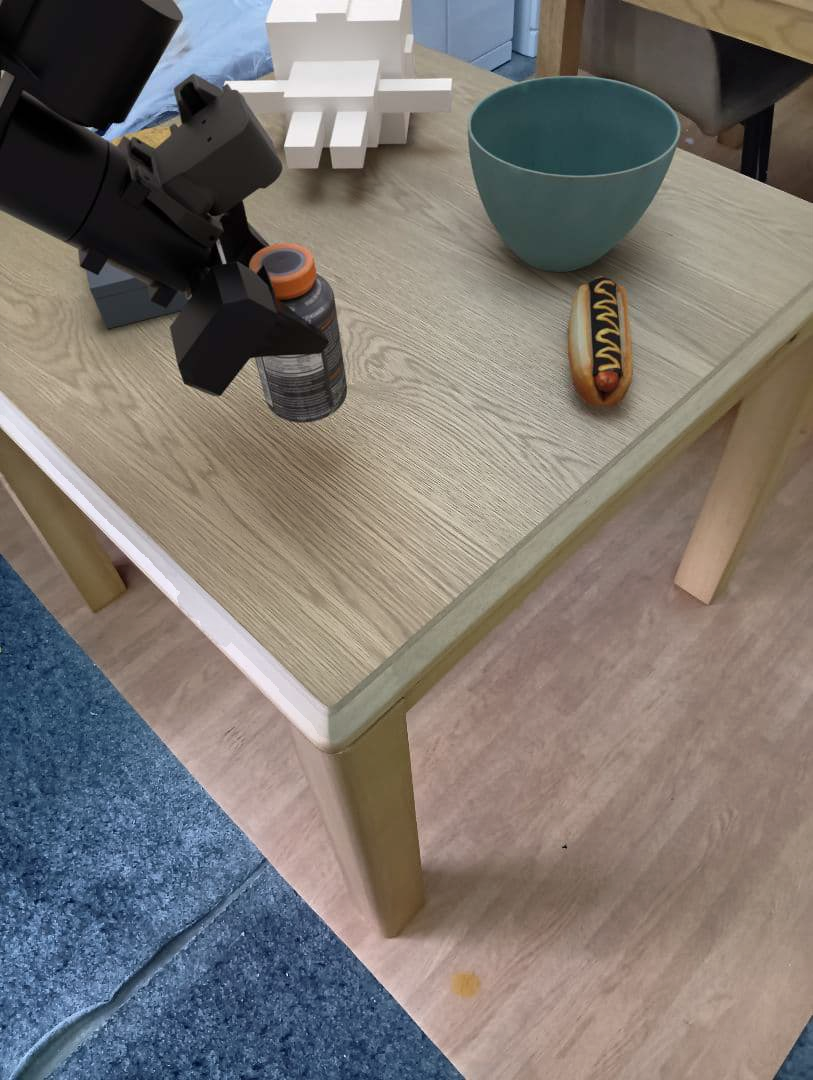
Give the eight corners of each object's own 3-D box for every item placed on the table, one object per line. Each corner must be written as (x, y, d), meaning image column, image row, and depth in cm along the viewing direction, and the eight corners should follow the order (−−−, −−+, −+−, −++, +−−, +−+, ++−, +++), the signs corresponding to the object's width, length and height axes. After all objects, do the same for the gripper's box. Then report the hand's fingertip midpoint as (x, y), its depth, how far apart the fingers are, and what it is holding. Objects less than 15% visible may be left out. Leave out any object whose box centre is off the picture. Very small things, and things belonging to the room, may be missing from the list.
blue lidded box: (107, 329, 74) (89, 288, 70) (93, 260, 80) (76, 219, 77) (252, 292, 76) (242, 251, 72) (226, 228, 83) (216, 187, 79)
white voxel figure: (222, 220, 87) (265, 83, 102) (446, 221, 85) (458, 81, 100) (183, 84, 75) (239, -49, 89) (445, 81, 72) (458, -55, 87)
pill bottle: (304, 358, 60) (279, 221, 51) (364, 390, 57) (350, 251, 48) (248, 403, 57) (212, 266, 48) (309, 438, 55) (283, 301, 46)
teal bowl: (519, 181, 86) (528, 59, 76) (680, 226, 79) (712, 99, 69) (431, 268, 77) (428, 143, 67) (604, 327, 70) (628, 198, 61)
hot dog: (565, 420, 64) (572, 373, 60) (563, 316, 72) (570, 268, 68) (627, 423, 63) (639, 376, 59) (619, 318, 71) (629, 270, 67)
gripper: (187, 145, 32) (441, 310, 43) (140, -13, 43) (352, 150, 54) (65, 341, 37) (319, 445, 48) (51, 155, 48) (260, 274, 59)
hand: (313, 318), depth 52 cm, fingers closed on pill bottle, 6 cm apart
